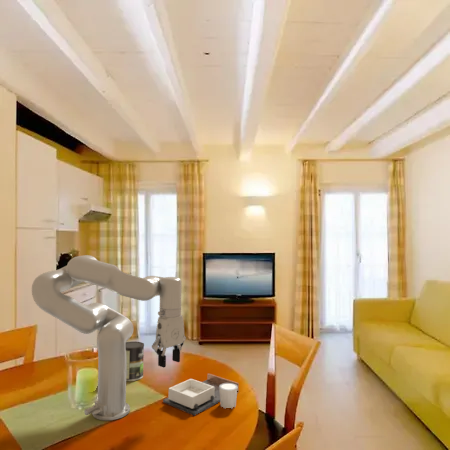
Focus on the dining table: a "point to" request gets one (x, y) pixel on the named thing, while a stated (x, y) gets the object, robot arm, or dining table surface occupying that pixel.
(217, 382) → the dark grey base plate
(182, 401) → the white tray on base
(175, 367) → the dining table surface
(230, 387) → the white tapered cylinder
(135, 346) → the coffee can
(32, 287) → the robot arm
